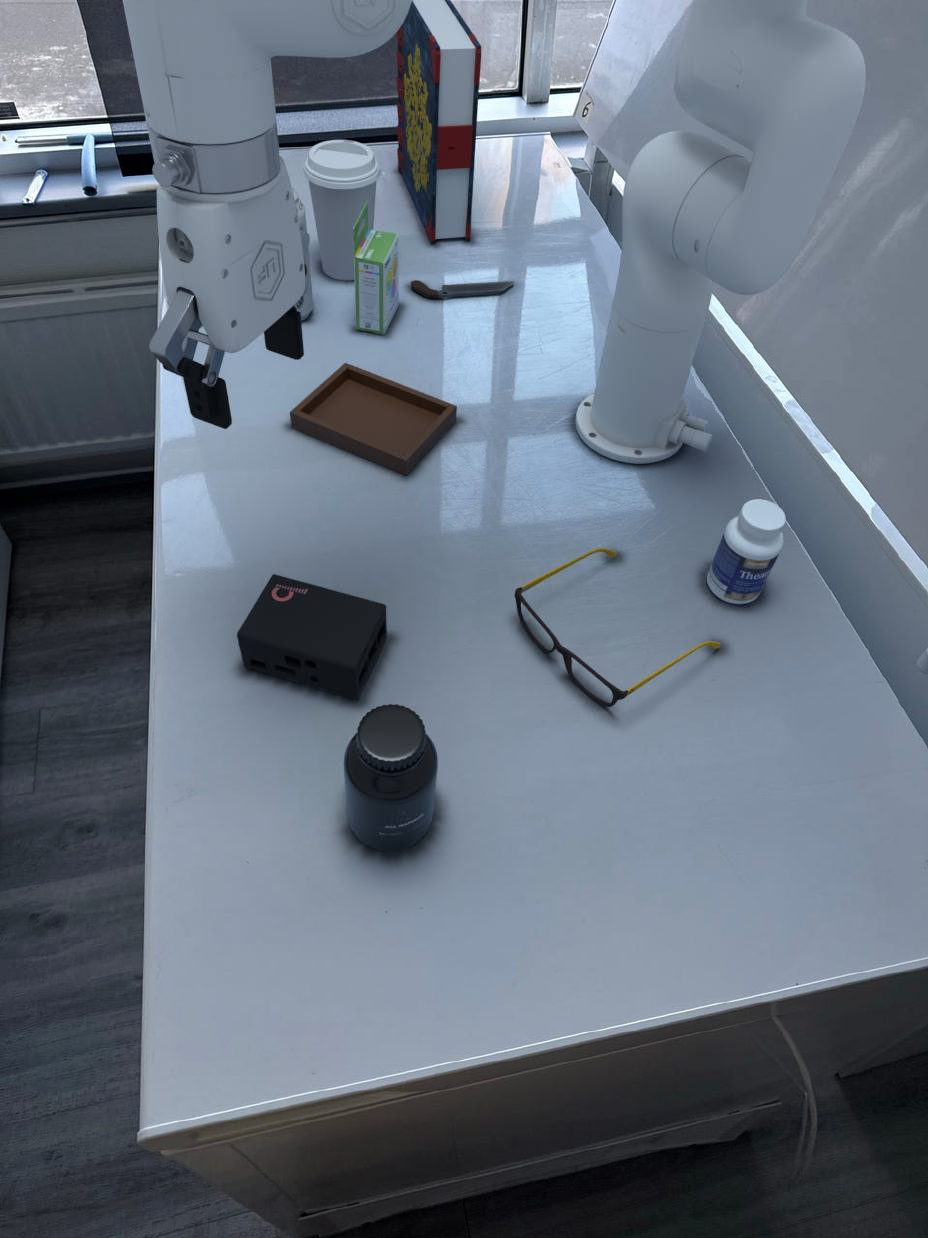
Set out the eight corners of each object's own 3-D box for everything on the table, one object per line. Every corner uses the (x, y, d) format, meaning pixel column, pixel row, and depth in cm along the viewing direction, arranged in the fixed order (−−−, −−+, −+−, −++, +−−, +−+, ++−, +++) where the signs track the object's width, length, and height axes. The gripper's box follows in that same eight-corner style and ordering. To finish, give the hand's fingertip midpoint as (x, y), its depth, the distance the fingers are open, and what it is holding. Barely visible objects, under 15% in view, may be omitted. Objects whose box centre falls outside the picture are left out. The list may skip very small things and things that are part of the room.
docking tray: (456, 420, 102) (457, 405, 101) (406, 475, 96) (406, 460, 94) (346, 377, 106) (345, 362, 105) (291, 427, 100) (289, 411, 98)
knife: (414, 300, 117) (414, 295, 117) (409, 284, 120) (409, 279, 119) (518, 294, 119) (518, 289, 119) (511, 278, 122) (512, 273, 121)
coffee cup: (396, 264, 123) (395, 151, 111) (353, 294, 117) (348, 179, 106) (340, 242, 126) (334, 129, 114) (296, 270, 120) (285, 155, 109)
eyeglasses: (503, 619, 84) (507, 591, 81) (614, 555, 90) (622, 527, 87) (607, 725, 77) (615, 699, 74) (720, 648, 83) (732, 621, 80)
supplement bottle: (402, 870, 68) (402, 794, 59) (329, 824, 70) (319, 744, 61) (450, 802, 72) (458, 720, 62) (380, 760, 74) (378, 675, 64)
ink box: (385, 336, 112) (384, 232, 102) (355, 330, 112) (350, 227, 102) (399, 306, 116) (399, 204, 106) (369, 301, 117) (366, 199, 106)
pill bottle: (728, 613, 86) (759, 542, 78) (694, 575, 89) (722, 503, 81) (771, 595, 88) (806, 524, 80) (737, 558, 91) (768, 487, 83)
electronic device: (357, 702, 77) (355, 668, 73) (244, 669, 79) (235, 634, 75) (387, 638, 82) (386, 602, 78) (279, 608, 83) (273, 572, 79)
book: (393, 164, 142) (391, -22, 123) (436, 161, 143) (440, -23, 124) (427, 245, 126) (431, 47, 107) (474, 241, 128) (486, 45, 109)
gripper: (181, 226, 48) (225, 468, 62) (341, 116, 59) (350, 343, 72) (69, 191, 50) (135, 434, 63) (245, 90, 61) (270, 317, 74)
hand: (250, 385), depth 68 cm, fingers open, 9 cm apart
